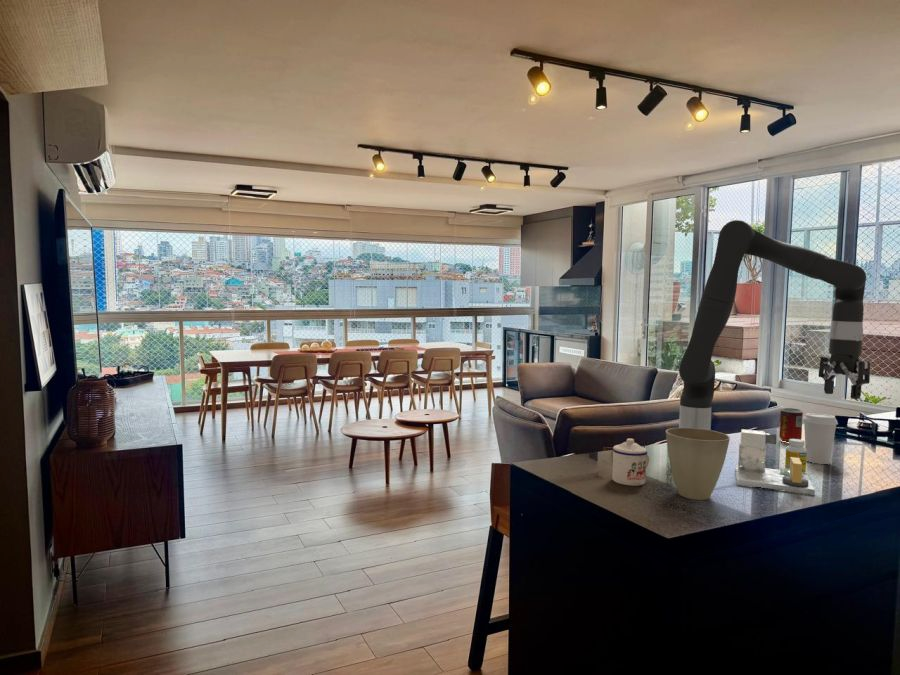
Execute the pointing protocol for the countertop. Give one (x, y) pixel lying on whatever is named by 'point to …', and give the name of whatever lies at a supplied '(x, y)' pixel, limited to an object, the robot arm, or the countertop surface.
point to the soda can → (790, 424)
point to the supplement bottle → (796, 453)
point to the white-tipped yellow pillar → (795, 474)
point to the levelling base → (771, 484)
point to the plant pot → (696, 460)
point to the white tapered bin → (819, 437)
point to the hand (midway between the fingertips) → (841, 396)
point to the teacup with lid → (629, 463)
